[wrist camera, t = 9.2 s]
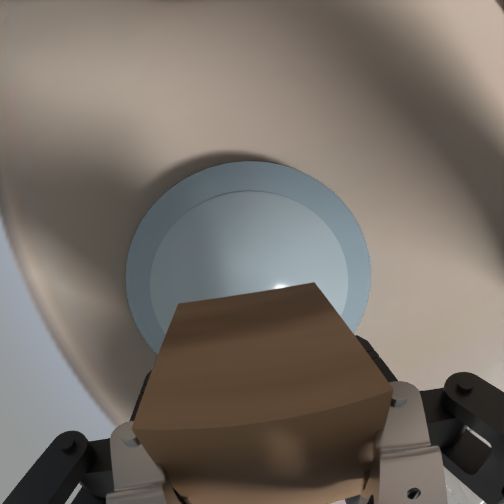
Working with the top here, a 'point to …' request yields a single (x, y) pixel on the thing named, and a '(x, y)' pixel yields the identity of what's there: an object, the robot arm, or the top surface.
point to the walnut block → (263, 401)
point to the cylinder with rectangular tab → (461, 493)
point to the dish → (244, 244)
